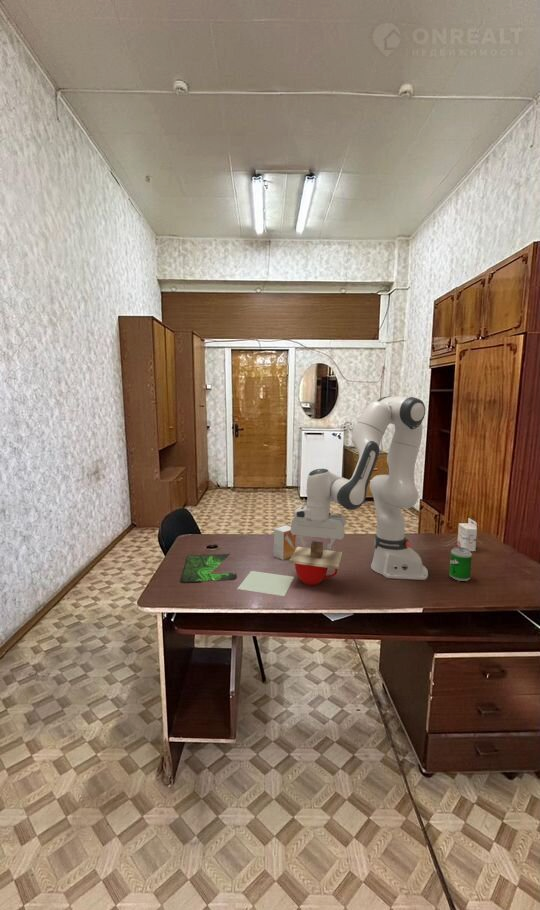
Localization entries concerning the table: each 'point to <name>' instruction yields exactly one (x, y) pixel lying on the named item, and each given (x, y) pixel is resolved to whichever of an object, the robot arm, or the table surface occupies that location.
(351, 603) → the table surface
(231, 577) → the mouse mat
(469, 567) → the soda can
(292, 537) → the small box
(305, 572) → the ceramic cup
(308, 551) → the lid
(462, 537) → the ink cartridge box
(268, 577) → the mat
